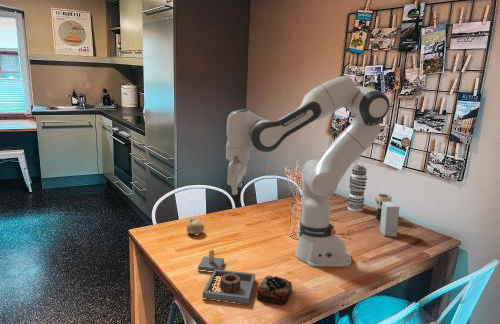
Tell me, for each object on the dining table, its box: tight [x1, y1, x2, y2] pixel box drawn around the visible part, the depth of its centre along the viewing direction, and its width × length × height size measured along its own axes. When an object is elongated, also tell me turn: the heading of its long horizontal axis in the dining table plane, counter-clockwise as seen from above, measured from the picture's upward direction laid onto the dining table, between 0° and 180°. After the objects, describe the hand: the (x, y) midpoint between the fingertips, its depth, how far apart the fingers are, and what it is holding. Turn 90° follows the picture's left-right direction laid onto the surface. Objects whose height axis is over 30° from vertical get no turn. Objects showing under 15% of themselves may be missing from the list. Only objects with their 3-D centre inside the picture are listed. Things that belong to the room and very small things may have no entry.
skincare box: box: [379, 201, 400, 238], centre depth 171 cm, size 8×6×15 cm
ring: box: [220, 273, 240, 293], centre depth 122 cm, size 6×6×4 cm
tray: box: [202, 269, 256, 305], centre depth 122 cm, size 15×15×2 cm
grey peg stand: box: [197, 248, 225, 271], centre depth 135 cm, size 8×8×7 cm
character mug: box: [374, 193, 393, 221], centre depth 190 cm, size 11×7×13 cm, turn 31°
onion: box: [186, 218, 205, 235], centre depth 165 cm, size 8×8×7 cm
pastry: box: [255, 275, 293, 306], centre depth 120 cm, size 11×12×6 cm
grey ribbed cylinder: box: [347, 164, 368, 212], centre depth 203 cm, size 9×9×25 cm
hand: (237, 190), depth 134 cm, fingers open, 8 cm apart
